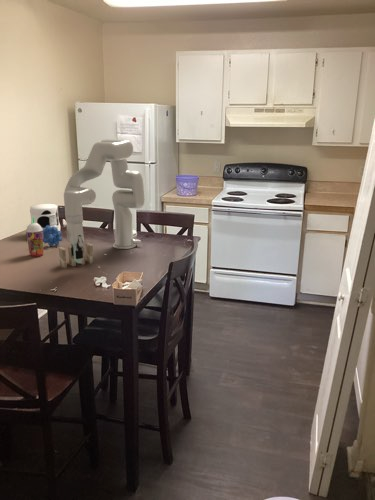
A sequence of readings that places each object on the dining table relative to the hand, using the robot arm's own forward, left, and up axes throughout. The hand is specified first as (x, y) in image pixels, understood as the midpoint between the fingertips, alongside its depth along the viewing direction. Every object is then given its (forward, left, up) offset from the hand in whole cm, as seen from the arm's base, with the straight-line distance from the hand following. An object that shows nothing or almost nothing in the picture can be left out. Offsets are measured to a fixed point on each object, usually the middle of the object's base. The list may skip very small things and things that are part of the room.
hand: (77, 256), depth 200 cm
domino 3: (0, 0, -2) cm, 2 cm away
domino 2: (+5, -11, -8) cm, 14 cm away
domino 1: (+9, -8, -8) cm, 14 cm away
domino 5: (-3, -15, -8) cm, 17 cm away
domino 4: (+1, -13, -8) cm, 15 cm away
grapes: (+22, -42, -8) cm, 48 cm away
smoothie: (+26, -26, -8) cm, 38 cm away
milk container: (+31, -66, -8) cm, 74 cm away
